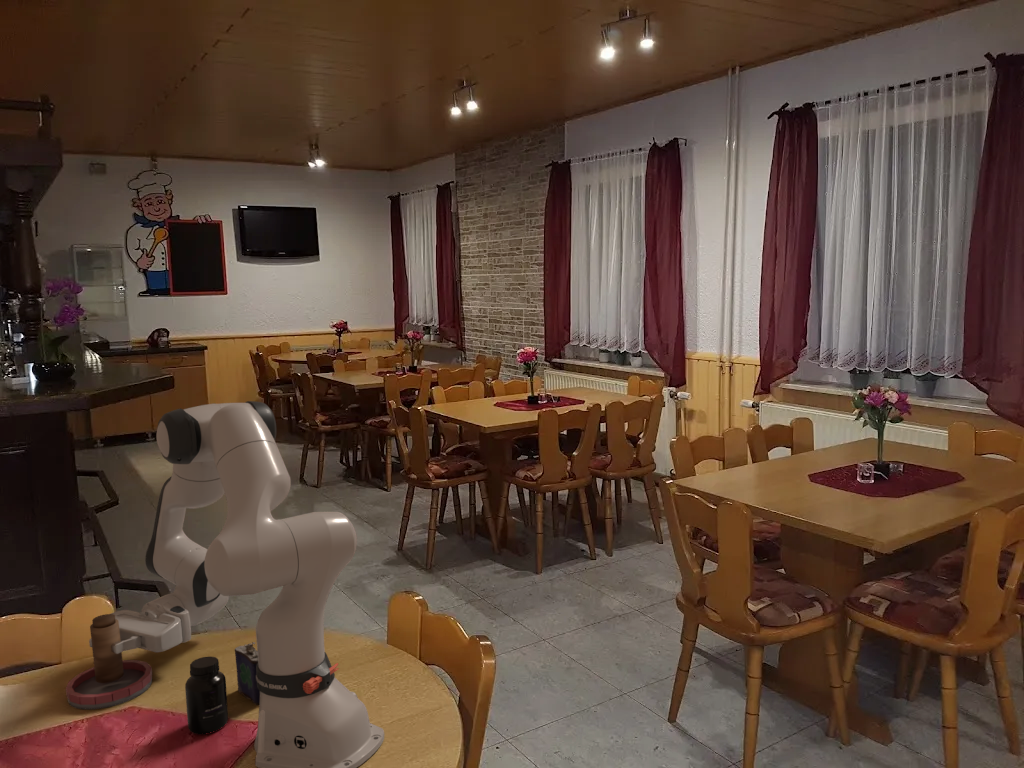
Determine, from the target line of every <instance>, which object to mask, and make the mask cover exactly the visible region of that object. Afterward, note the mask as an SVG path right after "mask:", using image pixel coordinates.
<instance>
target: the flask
mask: <svg viewBox="0 0 1024 768" xmlns="http://www.w3.org/2000/svg"><path fill="white" fill-rule="evenodd" d="M255 644H256V642H253V641H252V642H251V643H248V644H246V643H245V644H243V645H239V646H237V647H235V648H234V657H235V666H236V677H237V678H236V680H237V681H236V682H237V692H238V693H239V694H240V695H243V696H244V698H245V699H247V700H250V702H252V703H253V704H254V705H255V706H259V703H260V691H259V689H258V687H257V680H256V666H257V664H258V652H257V648H255V647H254V645H255Z"/></svg>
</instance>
